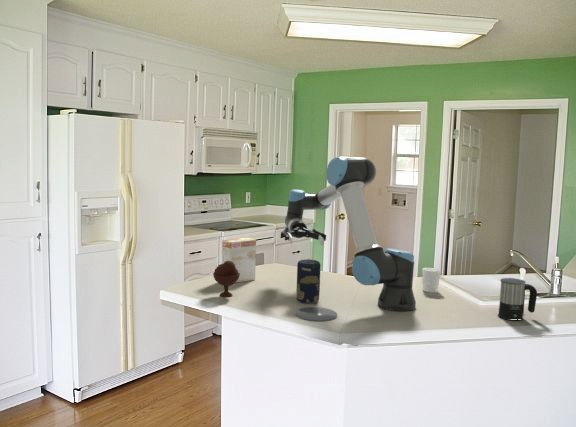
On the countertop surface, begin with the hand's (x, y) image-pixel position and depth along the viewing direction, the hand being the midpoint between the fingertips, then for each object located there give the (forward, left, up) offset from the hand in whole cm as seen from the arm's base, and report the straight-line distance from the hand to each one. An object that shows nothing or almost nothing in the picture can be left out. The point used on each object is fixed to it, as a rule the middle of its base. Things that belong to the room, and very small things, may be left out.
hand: (307, 241), depth 230 cm
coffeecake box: (+39, -3, -24) cm, 46 cm away
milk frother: (-76, -32, -24) cm, 86 cm away
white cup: (-38, -47, -24) cm, 65 cm away
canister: (-5, +6, -24) cm, 25 cm away
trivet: (-17, +19, -24) cm, 35 cm away
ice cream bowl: (+26, +21, -24) cm, 41 cm away
